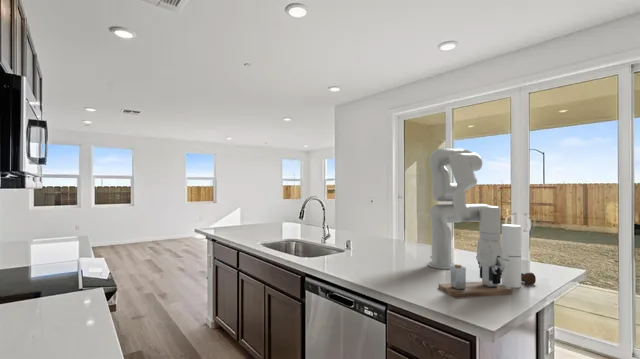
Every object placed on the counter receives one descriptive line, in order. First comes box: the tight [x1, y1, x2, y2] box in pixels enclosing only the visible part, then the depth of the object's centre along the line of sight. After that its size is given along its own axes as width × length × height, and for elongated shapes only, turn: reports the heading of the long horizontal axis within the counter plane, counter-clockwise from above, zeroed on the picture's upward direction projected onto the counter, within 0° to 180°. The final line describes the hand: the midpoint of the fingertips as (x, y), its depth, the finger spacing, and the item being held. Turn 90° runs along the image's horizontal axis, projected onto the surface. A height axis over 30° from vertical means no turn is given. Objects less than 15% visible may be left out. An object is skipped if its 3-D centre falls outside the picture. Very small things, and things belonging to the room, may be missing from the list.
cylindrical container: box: [501, 223, 522, 289], centre depth 142 cm, size 7×7×25 cm
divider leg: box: [481, 264, 498, 287], centre depth 135 cm, size 4×4×9 cm
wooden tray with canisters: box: [438, 263, 513, 299], centre depth 134 cm, size 12×24×11 cm, turn 100°
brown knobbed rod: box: [501, 272, 537, 287], centre depth 148 cm, size 6×5×15 cm
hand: (489, 280), depth 135 cm, fingers open, 7 cm apart
